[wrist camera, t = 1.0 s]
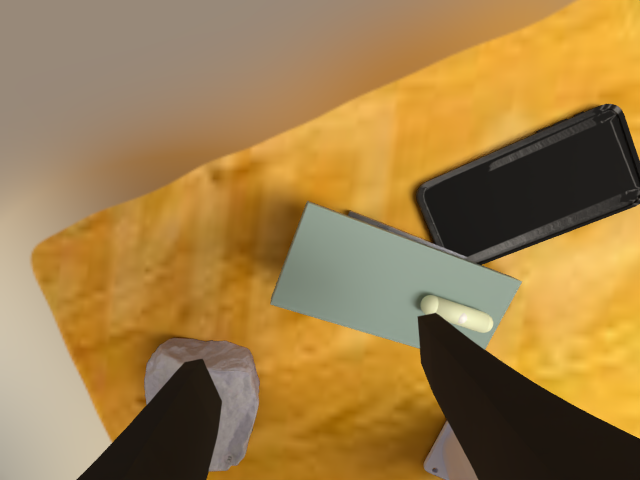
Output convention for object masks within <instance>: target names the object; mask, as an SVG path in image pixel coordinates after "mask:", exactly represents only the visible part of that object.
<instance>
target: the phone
mask: <svg viewBox="0 0 640 480" xmlns="http://www.w3.org/2000/svg"><path fill="white" fill-rule="evenodd" d="M416 198H417V202H418V204H419V207H420V209H421V212H422V214H423V217H424V219H425V221H426V224H427V226H428V229H429V231H430V233H431V236H432V238H433V241H434V243H435V244H436V245H438V246H440V247H443V248H446V249H448V250H451V251H453V252H456V253H458V254H461V255H463V256H466V257H467V259H466V260H468V261H471V262H474V263H476V264H479V265H482V264H485V263H488V262H490V261H493V260H495V259H498V258H501V257H503V256H506V255H509V254H511V253H514V252H517V251H519V250H522V249H524V248H527V247H530V246H532V245H535V244H538V243H540V242H543V241H545V240H548V239H551V238H553V237H556V236H559V235H561V234H564V233H567V232H569V231H572V230H574V229H577V228H580V227H582V226H585V225H588V224H590V223H593V222H596V221H598V220H601V219H603V218H606V217H609V216H611V215H614V214H617V213H619V212H622V211H625V210H627V209H630V208H632V207H635V206H637V205H639V204H640V161H639V158H638V155H637V152H636V149H635V146H634V143H633V140H632V137H631V134H630V131H629V128H628V125H627V122H626V119H625V116H624V113H623V111H622V110H621V109H620V108H619V107H618V106H616V105H613V104H605V105H601V106H598V107H595V108H593V109H590V110H588V111H586V112H581V113H579V114H577V115H574V117H572V118H570V119H565V120H562V121H560V122H558V123H556V124H553V126H552V127H550V126H548V127H546V128H544V129H541V130H539V131H537V133H536V134H534V135H531V136H529V137H527V138H524V139H522V140H520V141H518V142H515V143H513V144H511V145H509V146H506V147H504V148H502V149H500V150H497V151H495V152H493V153H490V154H488V155H486V156H484V157H481V158H479V159H477V160H475V161H472V162H470V163H468V164H465V165H463V166H461V167H459V168H456V169H454V170H452V171H450V172H447V173H445V174H443V175H441V176H438V177H436V178H434V179H431V180H429V181H427V182H425V183H423V184H422V185H421V186H420V187H419V188H418V191H417V194H416Z"/></svg>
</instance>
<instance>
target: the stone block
mask: <svg viewBox="0 0 640 480" xmlns="http://www.w3.org/2000/svg"><path fill="white" fill-rule="evenodd" d="M198 359H203V360H204V363H205V365H206V367H207V369H208V371H209V374H210V376H211V378H212V380H213V382H214V385H215V387H216V389H217V391H218V393H219V396H220V398H221V400H222V407H221V415H220V423H219V429H218V435H217V440H216V444H215V448H214V452H213V456H212V459H211V463H210V467H209V471H226V470H228V469H229V468H230V466H231V465H238V464H239V462H240V461H241V460H242V459H243V458H244V456H245V454H246V451H247V446H248V441H249V437H250V434H251V432H252V430H253V424H254V422H255V418H256V414H257V410H258V405H259V397H258V393H259V384H260V381H259V378H258V375H257V372H256V367H255V364H254V360H253V356H252V354H251V352H250V350H249V349H247V348H245V347H242V346H238V345H236V344H233V343H231V342H227V341H212V340H211V341H207V342H205V341H199V340H195V339H186V338H171V339H169V340H167V341H166V342H164V343H163V344H161V345H160V346H159V347H158V348H157V350H156V351H155V352H154V353H153V354H152V356H151V358H150V360H149V361H148V363H147V367H146V374H145V378H144V383H145V397H146V404H148V403H149V402H150V401H151V400H152V399H153V397H154V396H155V395H156V394H157V393H158V392H159V390H160V389H161V388H162V387H163V386H164V385H165V383H166V382H167V381H168V380H169V379H170V378H171V377H172V375H173V374H174V373H175V372H176V371H177V370H178V369H179V368H180V367H181V366H182V364H183V363H184V362H188V361H193V360H198Z"/></svg>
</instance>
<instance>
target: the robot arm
mask: <svg viewBox="0 0 640 480" xmlns="http://www.w3.org/2000/svg"><path fill="white" fill-rule="evenodd" d="M417 317H418V329H419V342H420V355H421V364H422V367H423V369H424V372H425V374H426V377H427V379H428V382H429V384H430V387H431V389H432V392H433V394H434V396H435V398H436V400H437V402H438V404H439V406H440V407H441V409H442V411H443V413H444V415H445V417H446V419H447V421H446V423H445V425H444V427H443V429H442V430H441V432H440V434H439V436H438V438H437V440H436V441H435V443H434V445H433V447H432V449H431V451H430V452H429V454H428V456H427V458H426V460H425V462H424V469H425V470H426V471H427V472H429V473H431V474H434V475H436V476H438V477H440V478H443V479H445V480H640V439H639V438H637V437H635V436H633V435H631V434H629V433H627V432H625V431H623V430H621V429H619V428H617V427H615V426H613V425H611V424H609V423H607V422H605V421H603V420H601V419H599V418H597V417H595V416H593V415H591V414H589V413H587V412H585V411H583V410H581V409H579V408H578V407H576V406H574V405H572V404H570V403H569V402H567V401H565V400H563V399H561V398H560V397H558V396H556V395H554V394H553V393H551V392H549V391H547V390H546V389H544V388H542V387H541V386H539V385H537V384H536V383H534V382H532V381H531V380H529V379H528V378H526V377H524V376H523V375H521V374H520V373H518V372H517V371H515V370H514V369H512V368H511V367H509V366H508V365H506V364H505V363H503V362H502V361H500V360H499V359H497V358H496V357H495V356H493V355H492V354H490V353H489V352H488V351H486V350H485V349H483V348H482V347H480V346H479V345H478V344H476V343H475V342H474V341H472V340H471V339H470V338H468V337H467V336H466V335H464V334H463V333H462V332H460V331H459V330H458V329H457V328H455V327H454V326H453V325H451V324H450V323H449V322H448V321H446V320H445V319H444V318H443V317H441V316H440V315H439V314H437V313H432V314H427V315H422V316H417ZM221 407H222V400H221V398H220V396H219V393H218V391H217V389H216V387H215V385H214V382H213V380H212V378H211V376H210V374H209V371H208V369H207V367H206V365H205V363H204V360H203V359H198V360H193V361H188V362H184V363H183V364H182V366H181V367H180V368H179V369H178V370H177V371H176V372H175V373H174V374H173V375H172V377H171V378H170V379H169V380H168V381H167V382H166V383H165V385H164V386H163V387H162V388H161V389H160V390H159V392H158V393H157V394H156V395H155V396H154V397H153V399H152V400H151V401H150V402H149V403H148V404H147V405H146V406H145V408H144V409H143V410H142V411H141V412H140V413H139V414H138V416H137V417H136V418H135V419H134V420H133V421H132V422H131V423H130V425H129V426H128V427H127V428H126V429H125V430H124V431H123V432H122V433H121V434H120V435H119V436H118V437H117V438H116V440H115V441H114V442H113V443H112V444H111V445H110V446H109V447H108V448H107V449H106V450H105V451H104V452H103V453H102V454H101V456H100V457H99V458H98V459H97V460H96V461H95V462H94V463H93V464H92V465H91V466H90V467H89V468H88V469H87V470H86V471H85V472H84V473H83V474H82V475H81V476H80V477H79V478H78V479H77V480H206V479H207V475H208V471H209V467H210V463H211V459H212V456H213V452H214V448H215V444H216V440H217V435H218V429H219V423H220V415H221ZM433 468H436V469H433Z"/></svg>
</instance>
